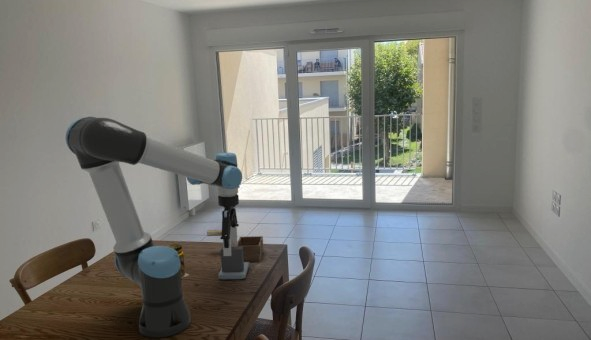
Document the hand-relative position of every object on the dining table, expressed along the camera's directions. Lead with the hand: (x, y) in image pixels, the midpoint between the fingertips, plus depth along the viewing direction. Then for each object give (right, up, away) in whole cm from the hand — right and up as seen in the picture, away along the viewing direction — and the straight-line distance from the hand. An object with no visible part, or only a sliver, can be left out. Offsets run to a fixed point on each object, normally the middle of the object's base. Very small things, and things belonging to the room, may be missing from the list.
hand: (230, 249), depth 165 cm
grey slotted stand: (+1, -10, +4) cm, 11 cm away
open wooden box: (+5, -7, +21) cm, 23 cm away
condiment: (-22, -11, +4) cm, 25 cm away
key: (-9, +2, +24) cm, 26 cm away
